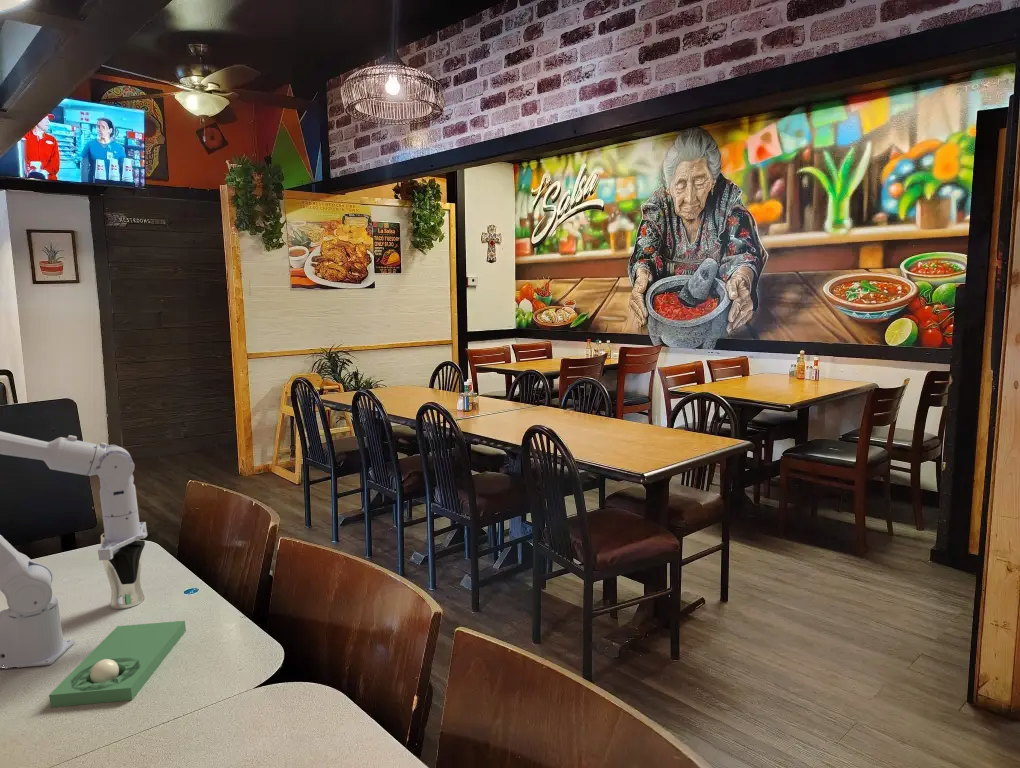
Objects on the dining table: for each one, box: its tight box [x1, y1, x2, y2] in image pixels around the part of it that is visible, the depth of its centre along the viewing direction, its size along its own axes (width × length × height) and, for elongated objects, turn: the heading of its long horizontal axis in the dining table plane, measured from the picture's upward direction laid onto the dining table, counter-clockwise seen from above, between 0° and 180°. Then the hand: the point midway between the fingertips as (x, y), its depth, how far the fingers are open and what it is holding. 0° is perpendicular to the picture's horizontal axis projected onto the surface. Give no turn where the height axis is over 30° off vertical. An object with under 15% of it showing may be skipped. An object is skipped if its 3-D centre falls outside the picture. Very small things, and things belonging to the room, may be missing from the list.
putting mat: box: [48, 620, 187, 708], centre depth 116 cm, size 12×22×2 cm, turn 5°
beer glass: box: [100, 532, 145, 610], centre depth 140 cm, size 7×7×15 cm
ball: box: [90, 659, 119, 684], centre depth 110 cm, size 4×4×4 cm
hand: (129, 582), depth 127 cm, fingers closed
